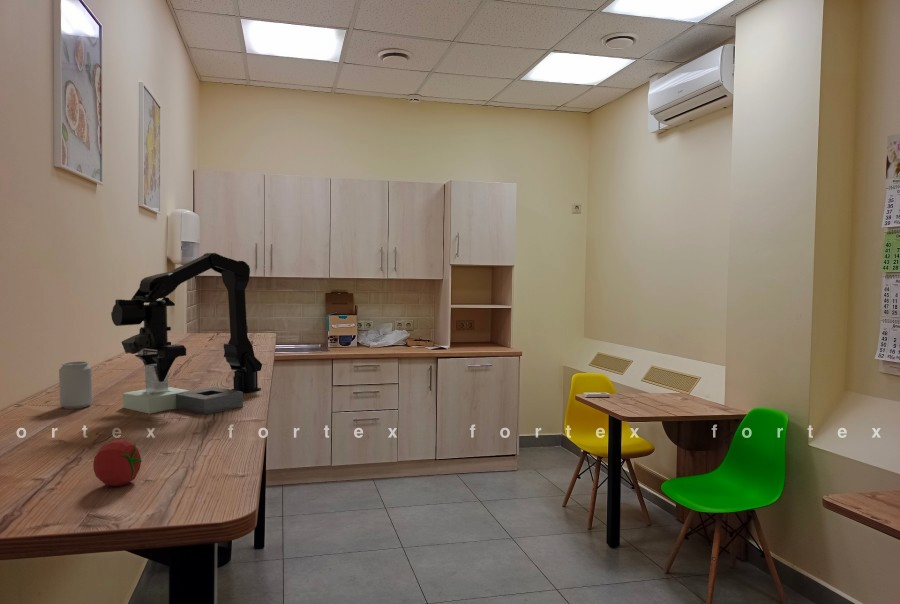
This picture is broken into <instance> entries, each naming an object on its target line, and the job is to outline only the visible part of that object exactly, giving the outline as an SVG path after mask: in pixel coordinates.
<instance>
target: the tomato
mask: <svg viewBox="0 0 900 604" xmlns="http://www.w3.org/2000/svg"><path fill="white" fill-rule="evenodd" d="M136 445H137V444H136V443H133V442H132V441H129V440H127V439H126V440H125V439H115V440H113V441H110V442H108V443H105V444H104V445H102V446H101V448H100V449H99V450H98V452H97V453H96V455H95V456H94V459H93V465H92V466H93V467H92V468H93V472H94V475H95V477H96V478H97V479H98V480H99V481H101V483H102V484H103V485H105V486H110V487H122V486H124V485H126V484H129V483H130V482H131V481H134V480H135V479H136V476H137V475H138V473H139V471H140V469H141V465H142V462H143V461H142V457H141V453H140V451H139V449H138V448H137V446H136Z"/></svg>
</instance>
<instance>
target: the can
mask: <svg viewBox="0 0 900 604" xmlns="http://www.w3.org/2000/svg"><path fill="white" fill-rule="evenodd" d="M61 365H62V366H60V368H59V370H58V375H59V376H58V380H59V381H58V383H59V385H58V386H59V406H61V407H63V408H64V409H65V410H66V409H67V410H74V409H82V408H87V407H89V406H90V404H92V403H93V379H92V377H93V376H92V375H93V374H92V373H93V372H92V366H90V365H89V361H80V360H79V361H68V362H62V364H61Z"/></svg>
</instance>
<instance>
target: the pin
mask: <svg viewBox="0 0 900 604" xmlns="http://www.w3.org/2000/svg"><path fill="white" fill-rule="evenodd" d="M144 370H145V371H144V372H145V373H144V376H145V378H144V379H145V384H144V385H145V389H146V393H147V394H152V395H155V394H160V393H166V392H168V387H169V372H168V373H167V375H166V378H165V380H164V381H163V382H159V377H158V370H157V363H155V364H147V365H144Z"/></svg>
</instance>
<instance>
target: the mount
mask: <svg viewBox="0 0 900 604" xmlns="http://www.w3.org/2000/svg"><path fill="white" fill-rule="evenodd" d="M189 391H190V392H185V393H180V394H176V408H175V410H179V411H183V412H187V413H189V412H190V413H193V414H199V415H201V416H202V415H204V416H206V415H211V414H215V413H220V412H223V411H229V410H234V409H238V408H241V407H244V395H243V394H244V393H243V392H241V391H235V390H231V389H228V388H223V387H216V386H213V387H207V388H202V389H201V388H200V389H197V390H196V389H195V390H192V391H191V390H189Z"/></svg>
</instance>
